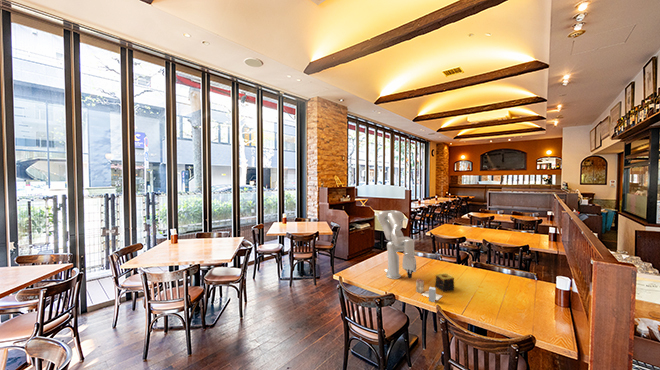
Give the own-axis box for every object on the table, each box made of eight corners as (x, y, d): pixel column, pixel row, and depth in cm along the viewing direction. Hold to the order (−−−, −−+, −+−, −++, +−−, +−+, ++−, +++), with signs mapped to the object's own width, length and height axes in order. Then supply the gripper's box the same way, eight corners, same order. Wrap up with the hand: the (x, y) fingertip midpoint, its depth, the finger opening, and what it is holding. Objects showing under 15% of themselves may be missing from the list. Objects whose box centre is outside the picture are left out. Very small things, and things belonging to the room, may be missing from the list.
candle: (443, 292, 198) (443, 279, 198) (434, 286, 208) (434, 274, 207) (454, 290, 201) (454, 277, 200) (445, 285, 210) (445, 273, 210)
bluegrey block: (428, 301, 184) (428, 288, 184) (429, 298, 188) (429, 286, 187) (434, 302, 182) (434, 289, 182) (435, 300, 185) (435, 287, 185)
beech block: (416, 291, 199) (416, 280, 199) (418, 290, 202) (418, 278, 202) (421, 293, 196) (421, 281, 196) (423, 291, 199) (423, 280, 199)
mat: (421, 295, 193) (421, 294, 193) (426, 291, 200) (426, 290, 200) (437, 300, 185) (437, 300, 185) (442, 296, 191) (442, 295, 191)
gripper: (398, 253, 207) (398, 276, 207) (415, 257, 196) (416, 281, 196) (403, 252, 212) (403, 274, 212) (420, 255, 202) (420, 279, 202)
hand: (409, 277), depth 204 cm, fingers closed
